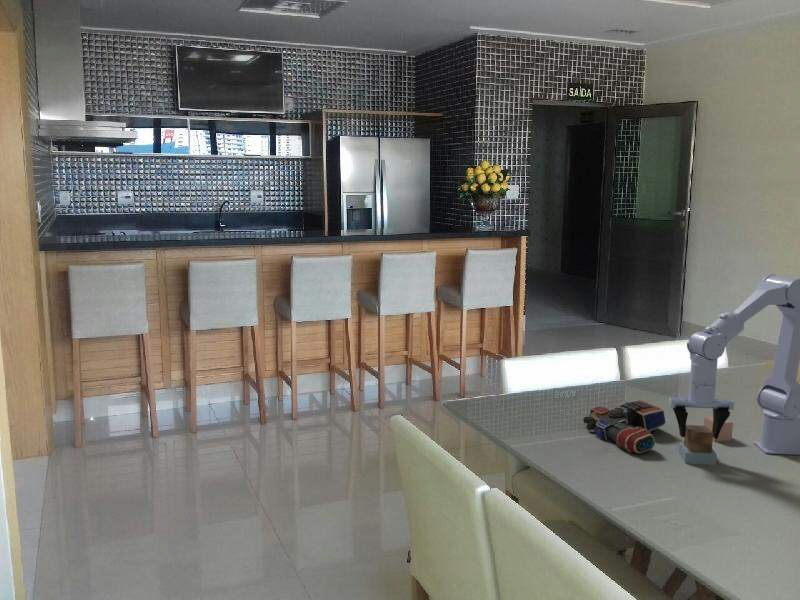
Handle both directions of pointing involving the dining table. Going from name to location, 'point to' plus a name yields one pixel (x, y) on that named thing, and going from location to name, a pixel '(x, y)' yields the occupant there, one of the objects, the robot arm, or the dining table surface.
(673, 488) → the dining table surface
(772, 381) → the robot arm
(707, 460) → the blue slab
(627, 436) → the red blue plastic piece
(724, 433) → the terracotta block
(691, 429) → the walnut block
